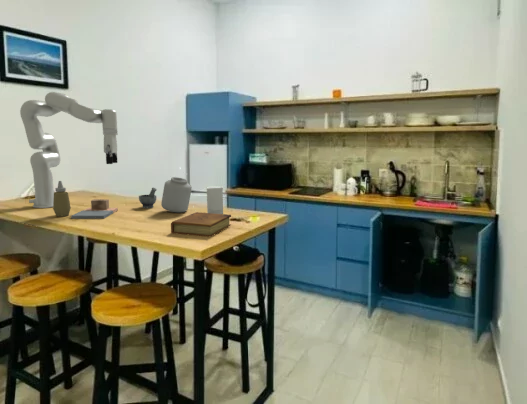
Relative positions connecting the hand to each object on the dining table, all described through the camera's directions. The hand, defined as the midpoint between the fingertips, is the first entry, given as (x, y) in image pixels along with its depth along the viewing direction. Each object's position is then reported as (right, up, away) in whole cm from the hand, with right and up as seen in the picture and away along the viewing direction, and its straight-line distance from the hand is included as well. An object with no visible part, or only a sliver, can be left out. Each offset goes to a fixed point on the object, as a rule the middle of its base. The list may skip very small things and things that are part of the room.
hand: (112, 163), depth 218 cm
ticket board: (-4, -29, -16) cm, 33 cm away
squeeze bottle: (-19, -29, -16) cm, 38 cm away
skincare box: (+59, -29, -13) cm, 67 cm away
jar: (+37, -27, -1) cm, 46 cm away
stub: (-4, -27, -5) cm, 28 cm away
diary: (+57, -34, -41) cm, 79 cm away
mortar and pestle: (+18, -25, +10) cm, 32 cm away
